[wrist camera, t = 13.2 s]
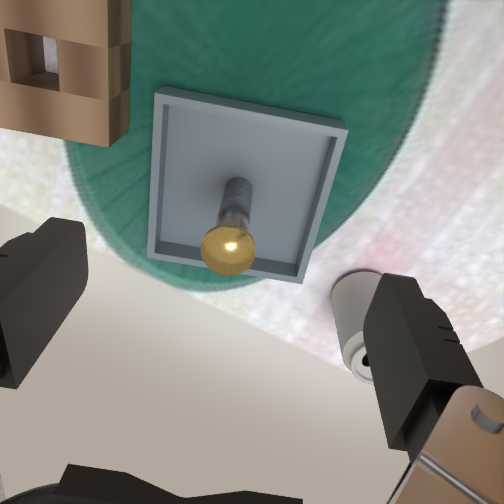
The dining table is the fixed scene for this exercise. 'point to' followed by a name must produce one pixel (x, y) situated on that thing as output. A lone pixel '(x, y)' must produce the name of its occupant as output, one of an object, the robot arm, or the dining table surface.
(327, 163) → the tray
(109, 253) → the dining table surface
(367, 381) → the can
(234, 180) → the pin
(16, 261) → the robot arm
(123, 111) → the pin block
